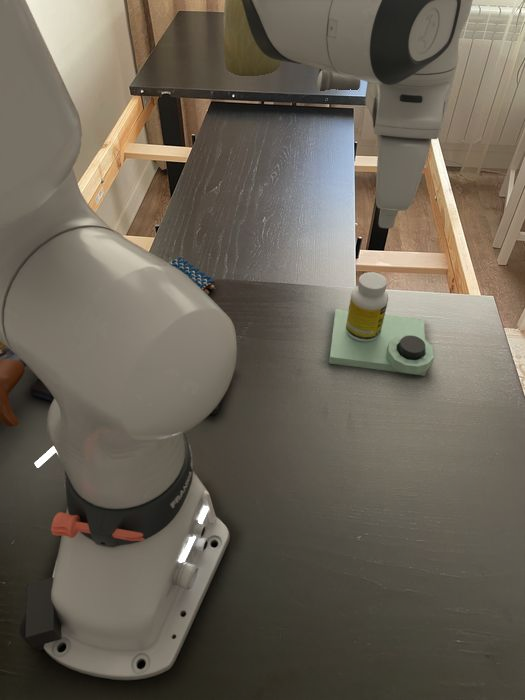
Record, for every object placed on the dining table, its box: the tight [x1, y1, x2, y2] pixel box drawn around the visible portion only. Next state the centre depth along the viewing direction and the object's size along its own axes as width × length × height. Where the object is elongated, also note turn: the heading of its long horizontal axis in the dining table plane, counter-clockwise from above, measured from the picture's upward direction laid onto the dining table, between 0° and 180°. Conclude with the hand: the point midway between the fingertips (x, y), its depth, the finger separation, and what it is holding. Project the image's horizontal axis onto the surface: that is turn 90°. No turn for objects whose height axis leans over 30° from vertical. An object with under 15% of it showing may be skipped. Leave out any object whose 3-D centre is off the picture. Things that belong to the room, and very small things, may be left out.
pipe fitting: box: [316, 69, 361, 91], centre depth 153 cm, size 12×8×10 cm
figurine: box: [0, 341, 27, 428], centre depth 77 cm, size 20×10×30 cm
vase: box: [222, 0, 281, 76], centre depth 156 cm, size 17×17×27 cm
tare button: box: [398, 336, 425, 360], centre depth 77 cm, size 4×4×2 cm
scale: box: [328, 308, 435, 377], centre depth 81 cm, size 12×15×3 cm
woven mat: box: [168, 256, 215, 295], centre depth 91 cm, size 10×11×2 cm
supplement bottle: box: [346, 271, 389, 342], centre depth 79 cm, size 5×5×10 cm
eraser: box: [30, 377, 54, 402], centre depth 74 cm, size 11×4×2 cm, turn 71°
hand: (386, 205), depth 67 cm, fingers open, 8 cm apart
